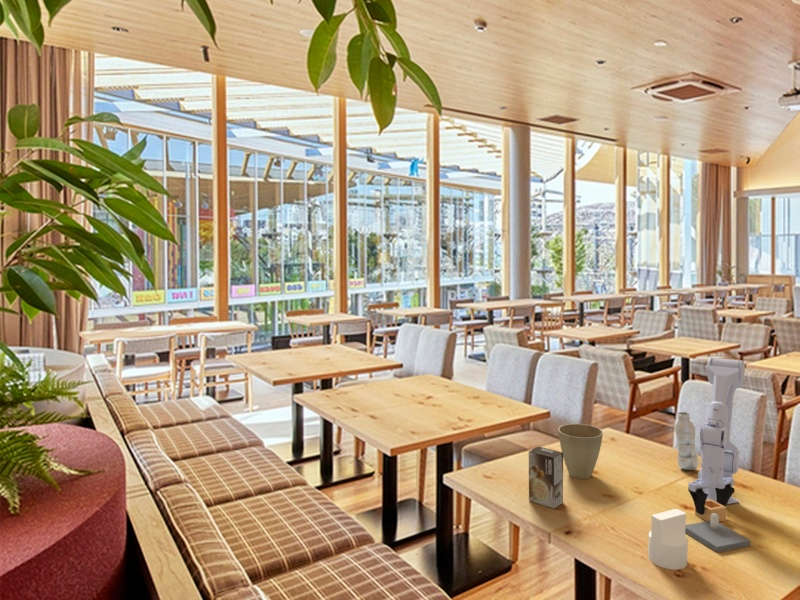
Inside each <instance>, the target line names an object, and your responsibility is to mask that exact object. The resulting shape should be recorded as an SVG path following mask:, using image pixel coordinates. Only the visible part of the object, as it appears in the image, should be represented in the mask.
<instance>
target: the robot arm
mask: <svg viewBox="0 0 800 600" xmlns="http://www.w3.org/2000/svg"><path fill="white" fill-rule="evenodd" d="M706 363H707V364H706V375H707V377H708V381H709V384H710V385H712V387H713V388H712V398H711V399H712V402H710V403H708V404H707V405H706V410H705V416H704V422H703V425H701V427H700V428H699V429H700V430H699V443H700V444H699V445H700V446H699V447H700V451H701V452H700V453H701V455H700V457H701V458H700V470H698V472H697V473H698V474H697V479H695V480H693V481H691V482H688V487H687V489H688V493H689V494H690V496H691V498H692V501H693V504H694V507H695V508H694V510H695V509H696V512H697V513H699V514H701V515H703V514H704V508H705V502H706V500H708V499H712V500H714V501H716V502H717V503H719V504H721V505H723V506H725V507H726V508H727V505H729V504H730V505H732V504H735V503H739V502H740V501H739V500H738V499H736V498H734V497H733V494H734V493H735V490H736V489H735V488H734V486H735V479H734V474H735V475H736V474H737V473H739V469H740V468H739V467H740V450H739V449H738V447H737V446H736V445H735V444H734V443H732V442H731V429H732V416H733V405H734V396H735V393H736V390H737V389H741V388H743V385H744V381H745V369H746V367H745V362H744V361H743V360H741V359H740V360H736V359H726V358H716V357H709V358H708V360H707V362H706ZM729 451H730V452H729Z"/></svg>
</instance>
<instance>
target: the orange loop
mask: <svg viewBox="0 0 800 600" xmlns="http://www.w3.org/2000/svg"><path fill="white" fill-rule="evenodd" d="M712 513H716V514H717V515H718V516H719V523H720V522H724V521H727V506H726V507H725V506H723V505H721V504H719V503H717V502H716V501H714V500H712V499H708V500H707V499H706V502H705V508H704V514H703V515H701V514H699V513H697V512H696V509H695V508H694V515H695V516H697V517H698V518H700V519H702V520H704V522H705V521H710V518H711V514H712Z"/></svg>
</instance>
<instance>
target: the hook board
mask: <svg viewBox="0 0 800 600" xmlns="http://www.w3.org/2000/svg"><path fill="white" fill-rule="evenodd" d="M685 534H687V535H689V537H692V538H693V539H695V540H696V541H698V542H700V543H701V544H702V545H704V546H706V547H707V548H709V549H711V550H712V551H713V552H715V553H721V552H727V551H732V550H736V549H737V550H738V549H742V548H746V547H750V546H751V544H752V543H751V542H752V541H751V539H749V538H747V537H745V536H744V535H742V534H740V533H739V532H736V531H735V530H733V529H732V528H730V527H728V526H726V525H724V524H723V523H720V522H719V516H718V515H717V514H716V513H712V514H711V518H710V521H705V520H704V521H700V522H695V523H690V524H686V526H685Z"/></svg>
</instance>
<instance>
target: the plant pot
mask: <svg viewBox="0 0 800 600" xmlns="http://www.w3.org/2000/svg"><path fill="white" fill-rule="evenodd" d="M557 431H558V432H557V433H558V438H559V444H560V445H559V446H560V448H561V452H563V462H564V464H565V467H566V469H567V471H568V474H569V476H570V477H572V478H575V479H580V480H581V479H582V480H584V479H589V478H591V476H592V474H593V472H594V470H595V468H596V465H597V462H598V459H599V455H600V451H601V447H602V442H603V437H604V431H603V430H602V429H601V428H599V427H597V426H593V425H590V424H583V423H568V424H562V425H560V426H559V427H558V428H557Z"/></svg>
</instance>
